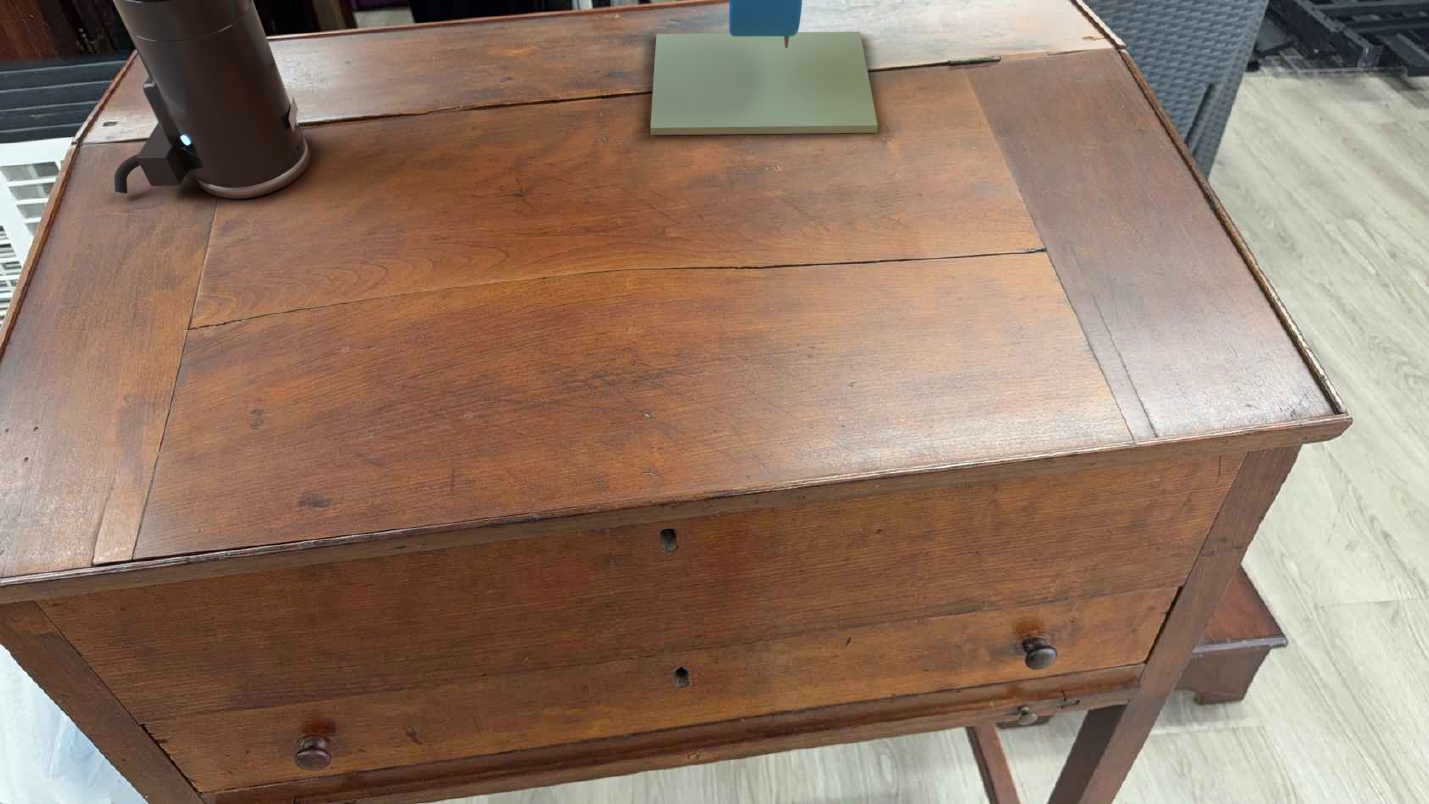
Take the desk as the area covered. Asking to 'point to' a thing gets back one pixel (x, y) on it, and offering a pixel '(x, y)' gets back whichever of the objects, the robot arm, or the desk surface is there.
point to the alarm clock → (764, 18)
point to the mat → (761, 84)
